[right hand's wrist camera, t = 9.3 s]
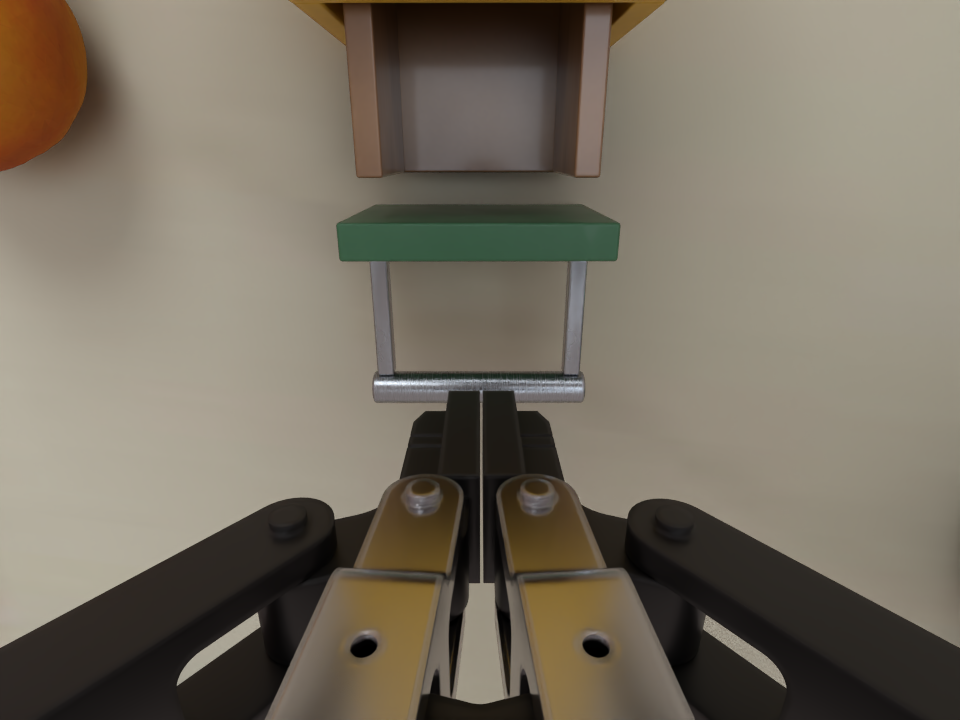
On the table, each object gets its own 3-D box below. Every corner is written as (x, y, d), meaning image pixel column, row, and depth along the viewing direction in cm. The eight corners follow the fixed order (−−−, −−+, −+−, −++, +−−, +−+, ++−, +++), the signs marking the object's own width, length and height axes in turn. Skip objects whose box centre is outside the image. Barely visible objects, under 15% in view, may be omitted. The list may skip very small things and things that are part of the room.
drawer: (573, 357, 25) (603, 422, 19) (384, 357, 25) (354, 422, 19) (606, -130, 18) (666, -267, 12) (350, -130, 18) (288, -266, 12)
